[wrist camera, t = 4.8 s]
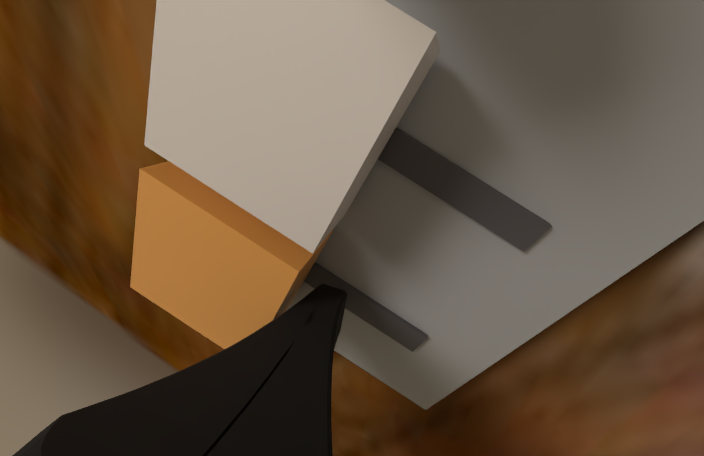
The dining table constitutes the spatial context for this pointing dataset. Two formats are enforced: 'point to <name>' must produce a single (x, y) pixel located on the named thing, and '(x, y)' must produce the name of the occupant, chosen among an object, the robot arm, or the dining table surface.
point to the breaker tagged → (211, 257)
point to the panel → (518, 181)
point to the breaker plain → (283, 100)
